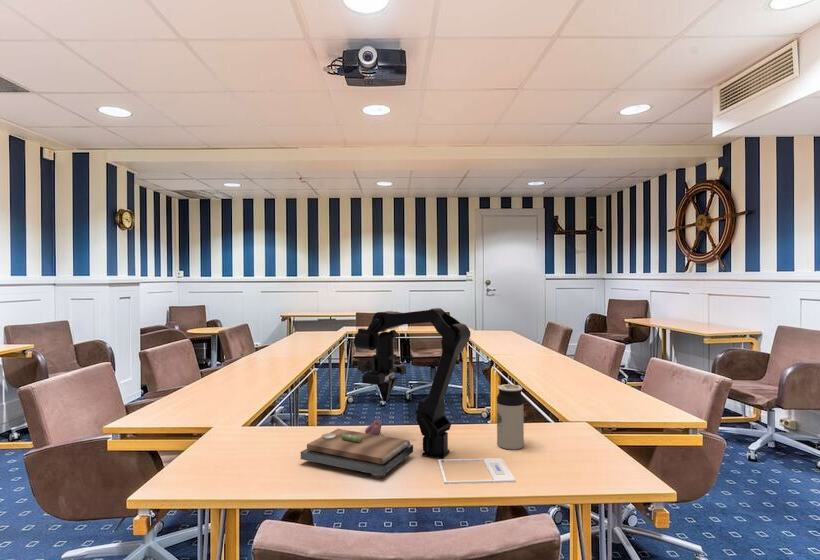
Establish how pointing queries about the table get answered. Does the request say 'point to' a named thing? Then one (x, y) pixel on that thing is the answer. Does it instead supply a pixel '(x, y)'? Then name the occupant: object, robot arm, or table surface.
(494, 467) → the photo frame
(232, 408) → the table surface
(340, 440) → the plate
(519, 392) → the travel mug
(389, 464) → the dark grey flat box
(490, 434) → the table surface
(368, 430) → the purple lumpy shape
